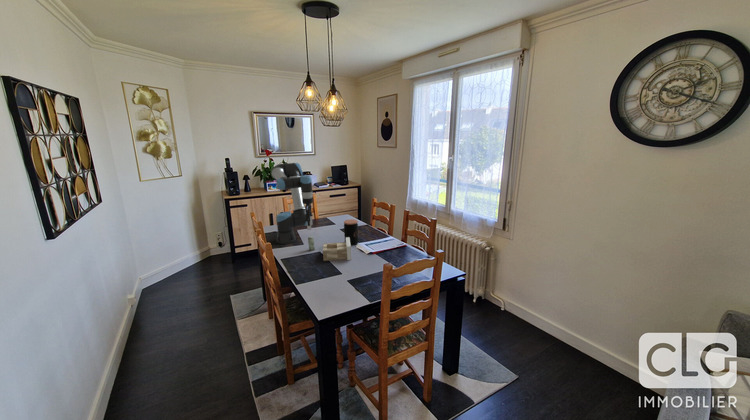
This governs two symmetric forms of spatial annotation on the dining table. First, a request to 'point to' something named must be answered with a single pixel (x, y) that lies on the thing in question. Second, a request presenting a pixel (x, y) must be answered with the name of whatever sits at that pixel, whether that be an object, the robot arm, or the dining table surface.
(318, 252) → the dining table surface
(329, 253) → the socket block
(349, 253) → the wall
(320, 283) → the dining table surface
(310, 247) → the dowel
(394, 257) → the dining table surface
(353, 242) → the coffee jar
